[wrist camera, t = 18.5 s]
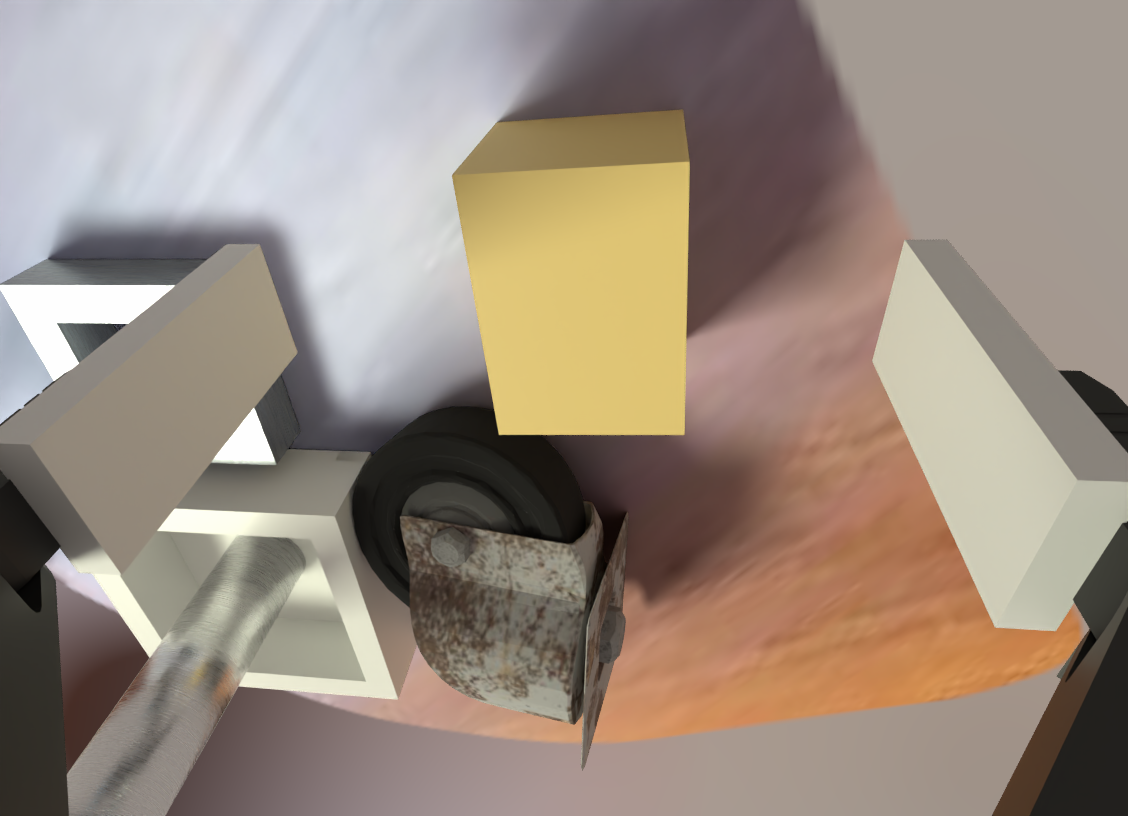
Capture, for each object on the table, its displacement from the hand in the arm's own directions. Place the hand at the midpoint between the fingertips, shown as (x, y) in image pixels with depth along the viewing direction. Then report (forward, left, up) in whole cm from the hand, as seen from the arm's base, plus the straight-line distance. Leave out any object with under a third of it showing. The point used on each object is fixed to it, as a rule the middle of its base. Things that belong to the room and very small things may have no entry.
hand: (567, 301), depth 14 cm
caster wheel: (+13, -4, -7) cm, 15 cm away
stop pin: (+15, -14, -6) cm, 22 cm away
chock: (+1, 0, -6) cm, 7 cm away
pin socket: (+5, -15, -6) cm, 17 cm away
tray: (+15, -14, -6) cm, 22 cm away
